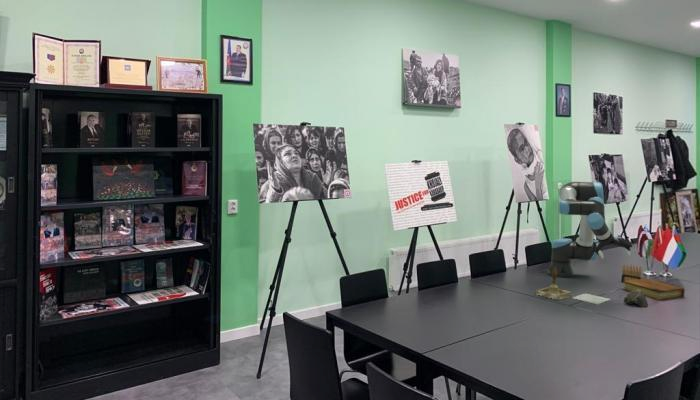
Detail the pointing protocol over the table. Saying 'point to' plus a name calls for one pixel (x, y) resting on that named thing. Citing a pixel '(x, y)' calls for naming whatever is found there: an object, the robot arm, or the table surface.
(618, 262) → the table surface
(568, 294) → the bell cradle
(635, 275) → the ammunition clip
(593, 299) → the mat
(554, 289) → the hand bell
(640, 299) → the fossil
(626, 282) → the diary
